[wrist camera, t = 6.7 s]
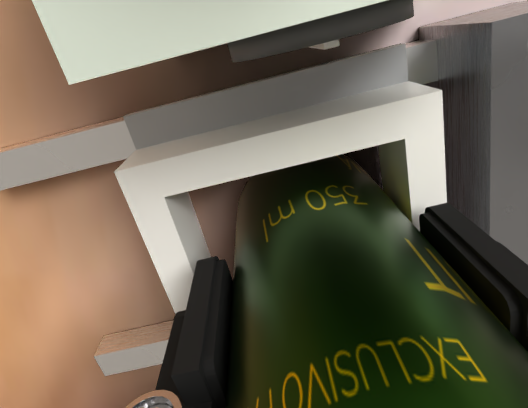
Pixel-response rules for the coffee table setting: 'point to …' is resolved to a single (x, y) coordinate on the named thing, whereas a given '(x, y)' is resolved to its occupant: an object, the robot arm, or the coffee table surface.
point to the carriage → (279, 146)
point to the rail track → (455, 140)
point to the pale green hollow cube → (200, 29)
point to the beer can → (355, 304)
